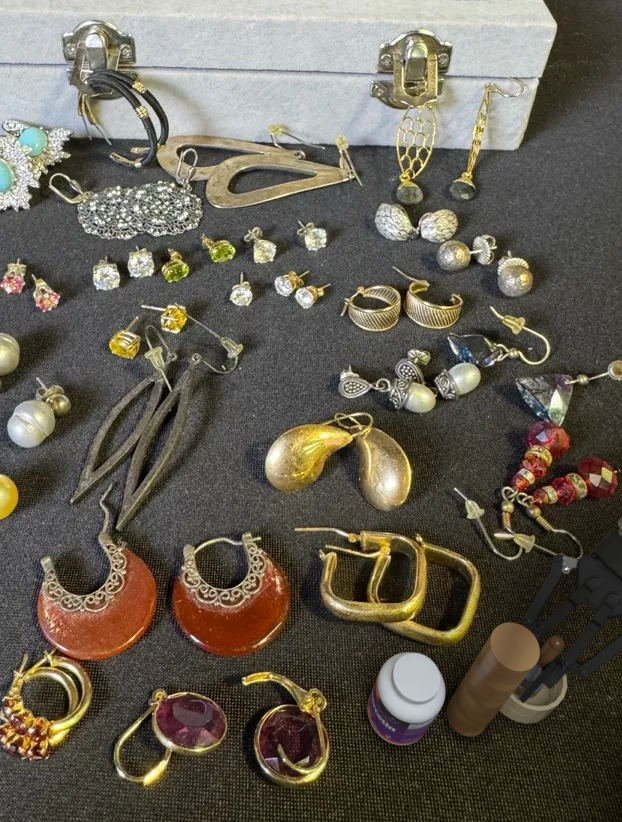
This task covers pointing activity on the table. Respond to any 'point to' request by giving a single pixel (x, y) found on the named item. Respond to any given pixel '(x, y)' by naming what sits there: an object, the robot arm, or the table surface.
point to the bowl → (535, 704)
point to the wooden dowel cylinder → (492, 678)
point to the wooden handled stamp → (542, 664)
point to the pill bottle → (406, 698)
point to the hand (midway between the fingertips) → (515, 690)
